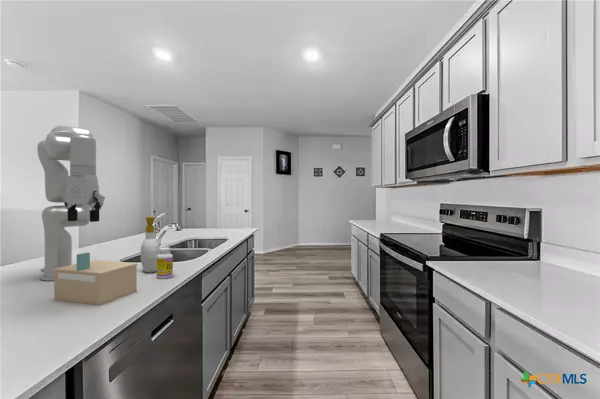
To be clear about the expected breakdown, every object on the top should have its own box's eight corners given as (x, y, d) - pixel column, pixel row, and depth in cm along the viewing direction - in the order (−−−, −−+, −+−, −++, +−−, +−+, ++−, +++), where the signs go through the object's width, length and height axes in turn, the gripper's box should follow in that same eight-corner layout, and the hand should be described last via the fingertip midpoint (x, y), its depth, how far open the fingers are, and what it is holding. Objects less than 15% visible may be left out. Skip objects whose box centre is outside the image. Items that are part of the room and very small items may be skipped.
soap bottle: (164, 272, 151) (164, 217, 151) (143, 275, 146) (143, 218, 146) (158, 266, 163) (158, 215, 163) (138, 269, 158) (138, 216, 158)
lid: (53, 270, 112) (53, 253, 112) (94, 261, 127) (94, 246, 127) (100, 274, 106) (100, 256, 106) (137, 264, 122) (137, 248, 122)
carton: (53, 299, 112) (53, 271, 112) (94, 286, 127) (94, 261, 127) (99, 305, 106) (99, 275, 106) (136, 291, 122) (136, 265, 122)
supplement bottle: (166, 279, 139) (166, 250, 139) (153, 278, 141) (153, 249, 140) (175, 275, 146) (175, 247, 146) (162, 274, 147) (162, 246, 147)
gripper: (53, 171, 110) (53, 221, 110) (93, 170, 105) (93, 222, 105) (74, 173, 117) (74, 220, 117) (112, 172, 112) (112, 221, 112)
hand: (83, 221), depth 111 cm, fingers open, 9 cm apart
